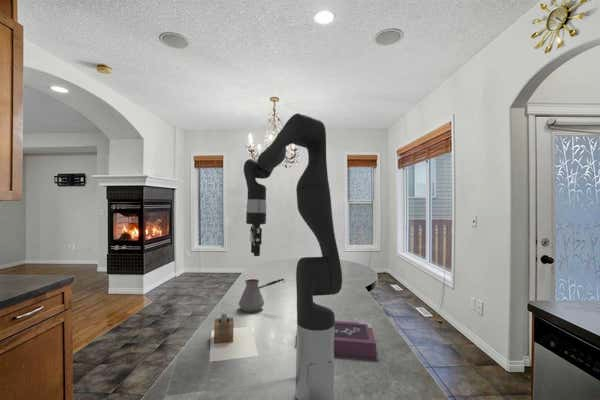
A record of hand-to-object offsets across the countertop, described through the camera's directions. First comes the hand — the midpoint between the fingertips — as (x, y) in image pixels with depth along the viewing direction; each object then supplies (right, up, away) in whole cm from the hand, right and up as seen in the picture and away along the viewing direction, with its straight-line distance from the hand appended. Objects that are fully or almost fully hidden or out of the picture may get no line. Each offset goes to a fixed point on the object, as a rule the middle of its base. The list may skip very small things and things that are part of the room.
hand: (255, 254), depth 107 cm
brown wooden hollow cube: (-9, -26, -13) cm, 30 cm away
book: (+29, -29, -11) cm, 42 cm away
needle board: (-5, -27, -15) cm, 32 cm away
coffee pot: (0, -29, +20) cm, 35 cm away
